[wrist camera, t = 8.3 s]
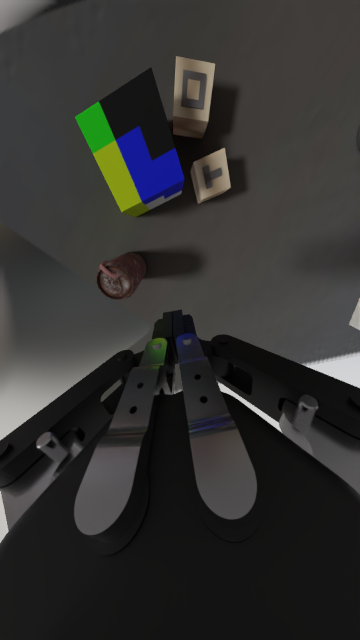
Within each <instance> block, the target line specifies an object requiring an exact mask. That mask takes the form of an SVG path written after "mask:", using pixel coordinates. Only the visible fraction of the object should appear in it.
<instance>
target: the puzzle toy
mask: <svg viewBox="0 0 360 640" xmlns="http://www.w3.org/2000/svg"><path fill="white" fill-rule="evenodd" d="M75 118H76V120H77V122H78V124H79V126H80V128H81V131H82V133H83V135H84V137H85V139H86V141H87V143H88V145H89V147H90V149H91V151H92V153H93V155H94V157H95V159H96V161H97V163H98V165H99V167H100V169H101V171H102V173H103V175H104V177H105V179H106V181H107V183H108V185H109V188H110V190H111V192H112V194H113V196H114V198H115V200H116V202H117V204H118V206H119V208H120V210H121V212H123V213H125V214H128V215H131V216H133V217H137V216H139V215H141V214H143V213H145V212H147V211H149V210H151V209H153V208H155V207H157V206H159V205H161V204H163V203H165V202H167V201H169V200H171V199H173V198H174V197H176V196H178V195H180V194H181V193H182V189H183V185H184V180H185V178H184V175H183V172H182V168H181V165H180V162H179V158H178V155H177V152H176V148H175V145H174V142H173V138H172V135H171V132H170V128H169V125H168V122H167V118H166V115H165V112H164V108H163V105H162V102H161V98H160V95H159V92H158V88H157V85H156V82H155V78H154V75H153V72H152V68H149V69H148V70H146V71H145V72H143V73H142V74H140V75H138V76H137V77H135V78H134V79H132V80H131V81H129V82H128V83H126V84H125V85H123V86H122V87H120V88H119V89H117V90H116V91H114V92H113V93H111V94H109V95H108V96H106V97H105V98H103V99H102V100H100V101H99V102H97V103H96V104H94V105H93V106H91V107H90V108H88V109H87V110H85V111H84V112H82V113H80V114H79V115H77V116H76V117H75Z"/></svg>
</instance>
